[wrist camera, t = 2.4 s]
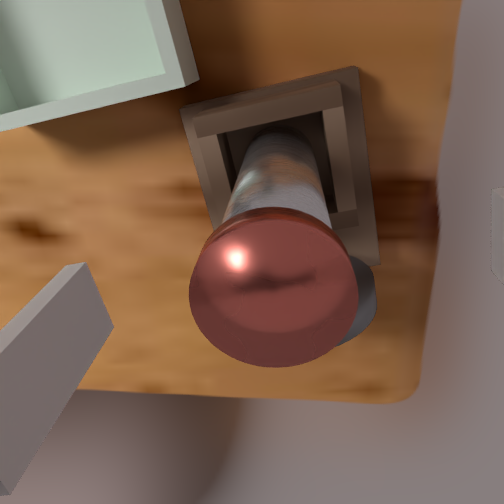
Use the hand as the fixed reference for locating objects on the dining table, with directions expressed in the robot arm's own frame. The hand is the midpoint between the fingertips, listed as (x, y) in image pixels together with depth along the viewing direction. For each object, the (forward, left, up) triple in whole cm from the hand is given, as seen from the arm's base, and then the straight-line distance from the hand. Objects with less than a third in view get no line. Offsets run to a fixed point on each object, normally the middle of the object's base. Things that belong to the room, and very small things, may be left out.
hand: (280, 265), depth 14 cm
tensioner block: (+2, 0, -14) cm, 14 cm away
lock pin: (0, 0, -13) cm, 13 cm away
